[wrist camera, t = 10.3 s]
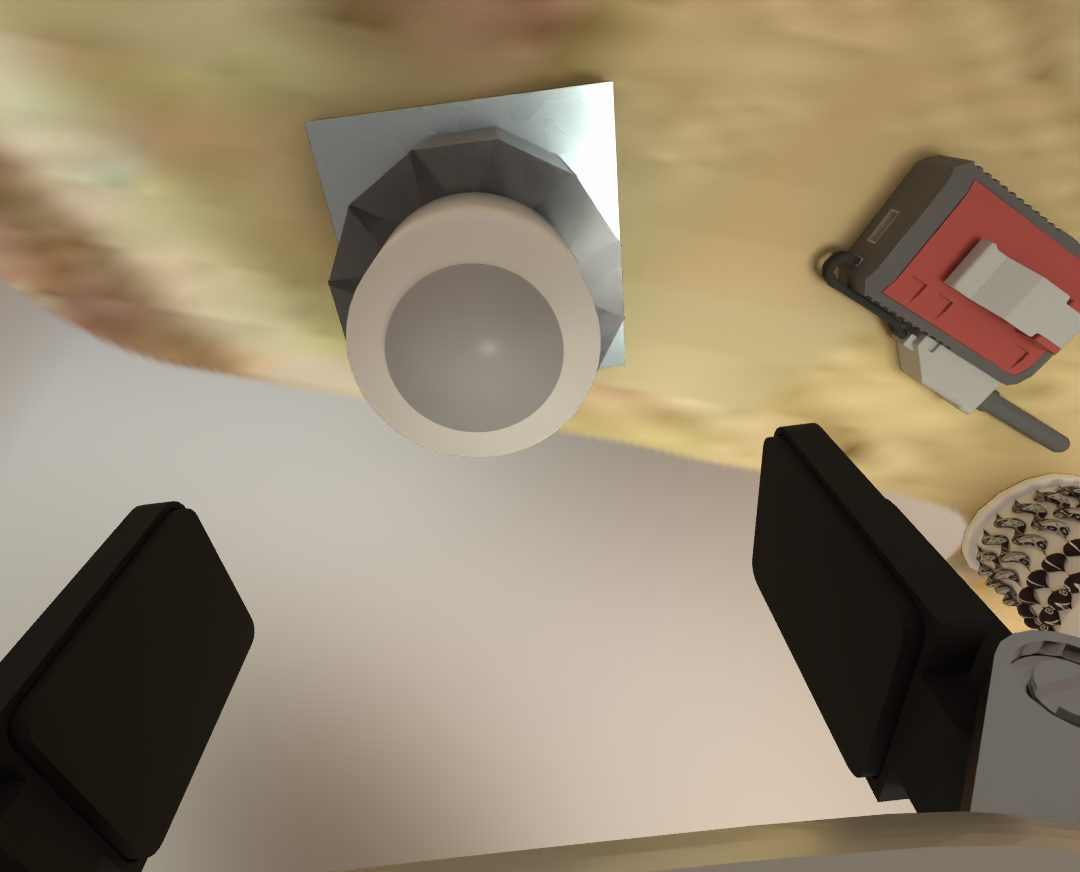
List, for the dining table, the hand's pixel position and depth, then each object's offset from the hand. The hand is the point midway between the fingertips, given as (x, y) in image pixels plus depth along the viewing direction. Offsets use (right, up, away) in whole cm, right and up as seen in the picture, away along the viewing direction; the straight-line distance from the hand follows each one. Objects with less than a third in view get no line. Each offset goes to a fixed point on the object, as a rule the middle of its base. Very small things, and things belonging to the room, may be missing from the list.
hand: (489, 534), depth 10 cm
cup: (-2, +8, +13) cm, 16 cm away
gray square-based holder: (-2, +10, +17) cm, 20 cm away
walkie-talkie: (+24, +8, +21) cm, 33 cm away
